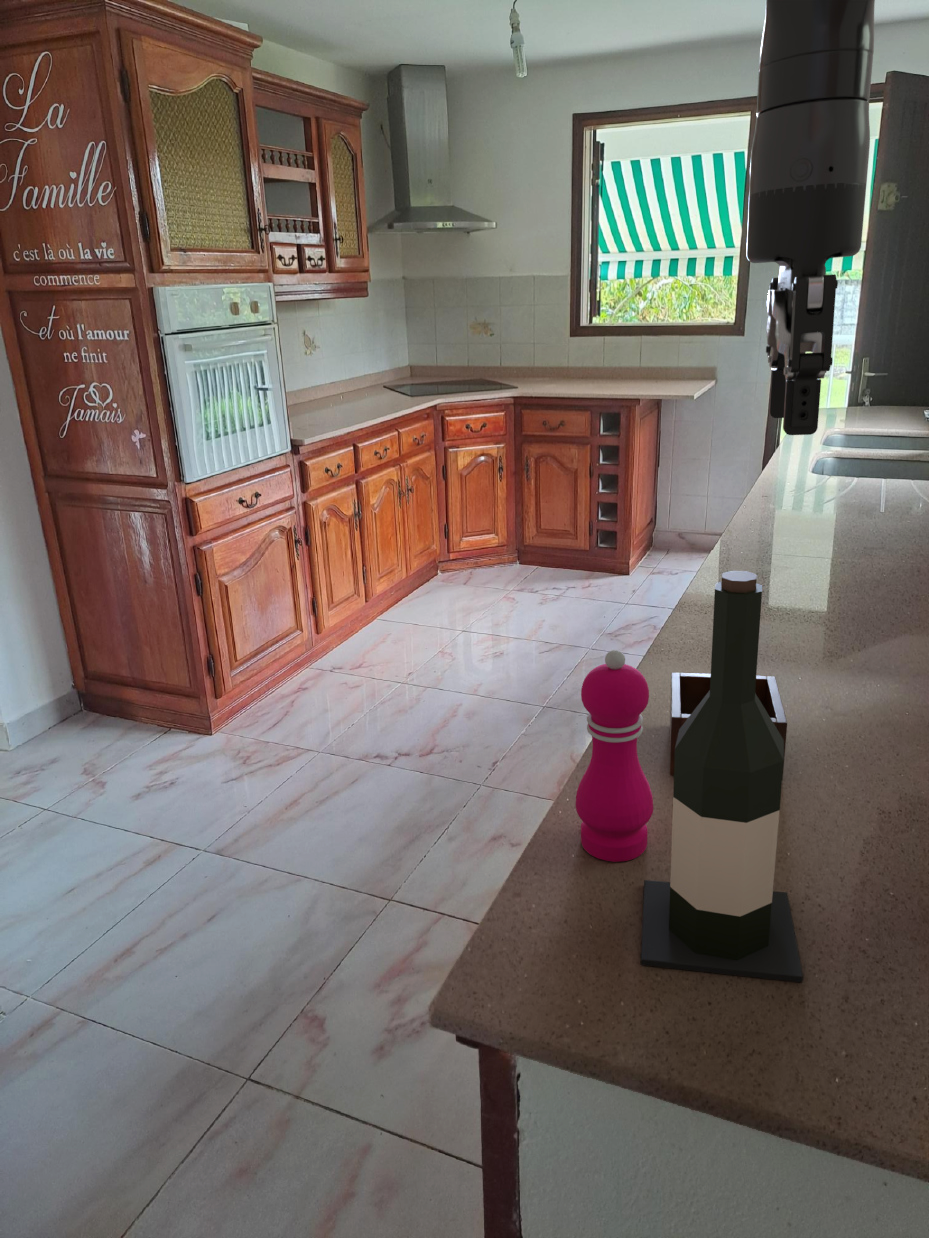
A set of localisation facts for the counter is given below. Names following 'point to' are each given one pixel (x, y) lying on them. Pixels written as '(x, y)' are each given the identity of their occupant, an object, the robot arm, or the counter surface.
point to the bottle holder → (696, 686)
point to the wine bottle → (727, 792)
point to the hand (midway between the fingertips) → (791, 425)
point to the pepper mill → (614, 763)
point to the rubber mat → (675, 954)
